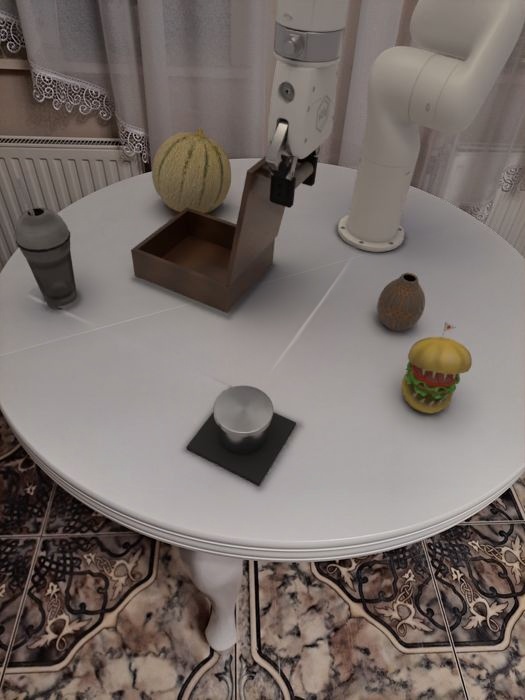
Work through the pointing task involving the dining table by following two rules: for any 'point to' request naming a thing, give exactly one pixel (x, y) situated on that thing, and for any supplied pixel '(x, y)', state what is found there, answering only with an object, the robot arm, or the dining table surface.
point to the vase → (401, 303)
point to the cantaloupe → (191, 172)
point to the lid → (258, 215)
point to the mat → (243, 465)
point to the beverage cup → (47, 252)
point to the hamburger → (434, 372)
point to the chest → (197, 259)
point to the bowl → (242, 419)
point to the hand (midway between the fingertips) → (292, 192)
